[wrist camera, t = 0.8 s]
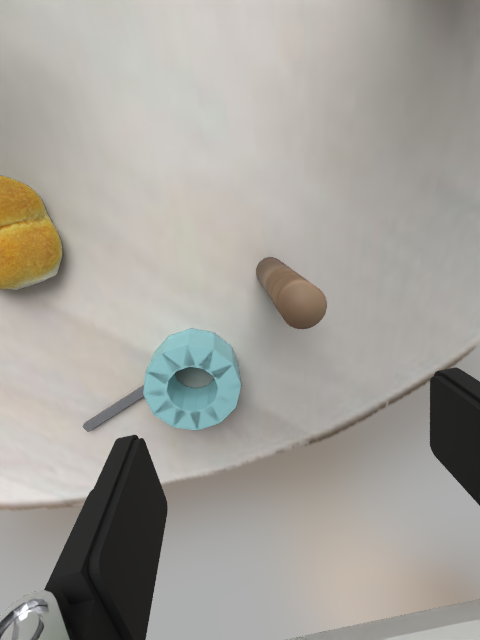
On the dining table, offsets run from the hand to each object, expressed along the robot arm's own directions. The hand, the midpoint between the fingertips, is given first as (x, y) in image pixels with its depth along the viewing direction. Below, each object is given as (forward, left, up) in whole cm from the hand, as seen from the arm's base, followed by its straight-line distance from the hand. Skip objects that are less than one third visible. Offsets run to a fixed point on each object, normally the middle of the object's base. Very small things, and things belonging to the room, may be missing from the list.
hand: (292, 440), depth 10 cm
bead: (+7, +6, -20) cm, 22 cm away
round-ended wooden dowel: (-3, -1, -20) cm, 21 cm away
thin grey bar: (+16, +7, -20) cm, 27 cm away
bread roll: (+17, -11, -21) cm, 29 cm away
